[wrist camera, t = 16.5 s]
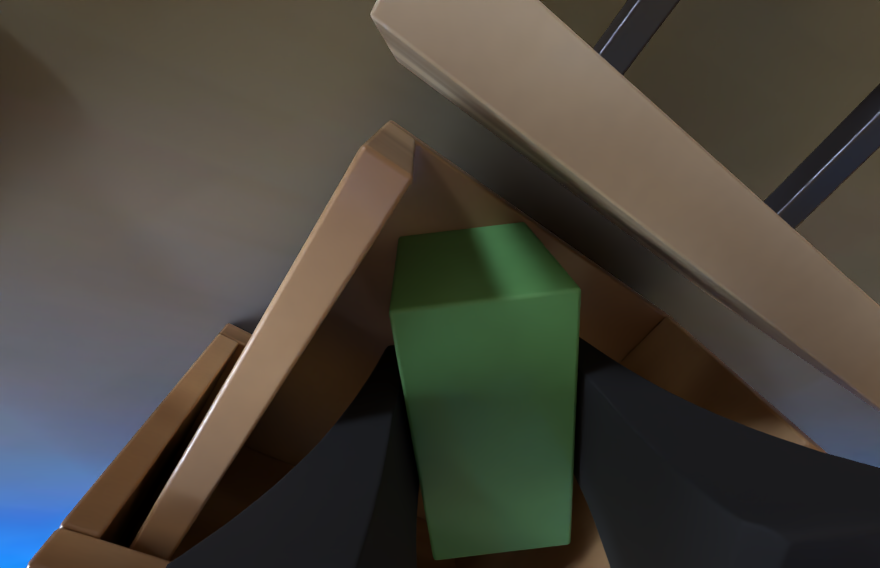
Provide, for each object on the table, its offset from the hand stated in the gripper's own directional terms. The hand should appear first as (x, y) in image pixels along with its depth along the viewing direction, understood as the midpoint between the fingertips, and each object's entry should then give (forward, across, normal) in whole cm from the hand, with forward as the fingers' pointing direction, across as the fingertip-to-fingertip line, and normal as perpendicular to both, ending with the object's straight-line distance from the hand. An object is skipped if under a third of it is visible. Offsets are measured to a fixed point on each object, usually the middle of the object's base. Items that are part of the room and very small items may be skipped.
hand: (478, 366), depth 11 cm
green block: (+1, 0, 0) cm, 1 cm away
